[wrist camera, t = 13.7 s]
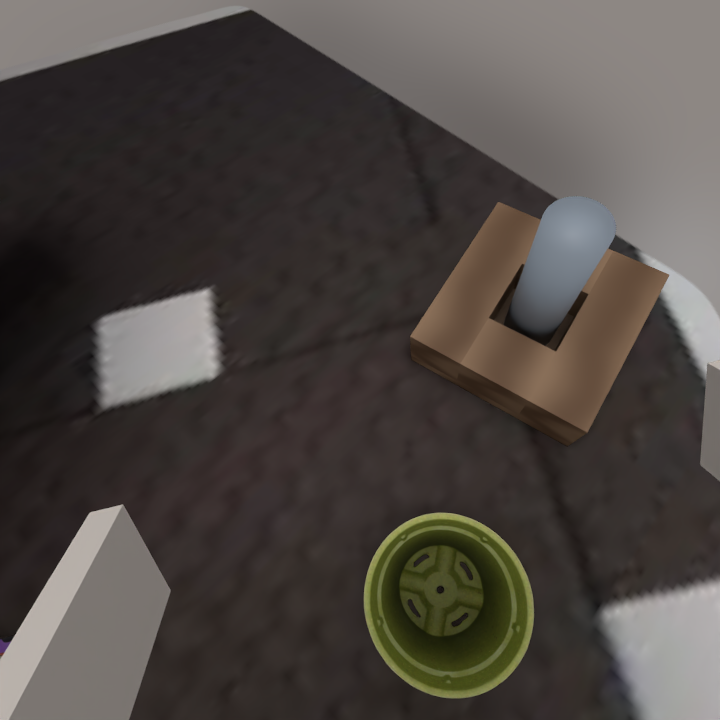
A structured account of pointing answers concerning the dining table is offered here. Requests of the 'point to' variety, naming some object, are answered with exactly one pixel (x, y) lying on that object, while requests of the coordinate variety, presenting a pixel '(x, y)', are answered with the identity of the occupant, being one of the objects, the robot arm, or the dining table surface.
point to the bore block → (521, 354)
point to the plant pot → (448, 605)
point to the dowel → (559, 265)
